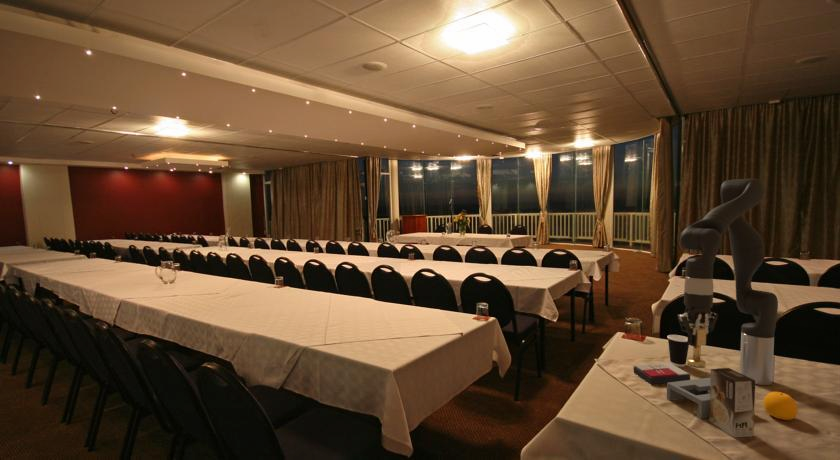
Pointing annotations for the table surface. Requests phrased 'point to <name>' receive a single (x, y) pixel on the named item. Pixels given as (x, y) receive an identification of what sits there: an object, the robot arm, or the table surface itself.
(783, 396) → the orange
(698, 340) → the peg
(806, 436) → the table surface
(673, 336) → the dixie cup
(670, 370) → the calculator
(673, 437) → the table surface
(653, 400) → the table surface
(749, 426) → the coffee box
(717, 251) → the robot arm
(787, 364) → the table surface
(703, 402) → the keyhole plate
